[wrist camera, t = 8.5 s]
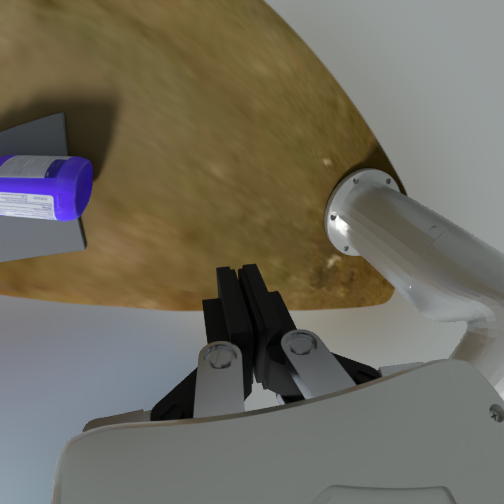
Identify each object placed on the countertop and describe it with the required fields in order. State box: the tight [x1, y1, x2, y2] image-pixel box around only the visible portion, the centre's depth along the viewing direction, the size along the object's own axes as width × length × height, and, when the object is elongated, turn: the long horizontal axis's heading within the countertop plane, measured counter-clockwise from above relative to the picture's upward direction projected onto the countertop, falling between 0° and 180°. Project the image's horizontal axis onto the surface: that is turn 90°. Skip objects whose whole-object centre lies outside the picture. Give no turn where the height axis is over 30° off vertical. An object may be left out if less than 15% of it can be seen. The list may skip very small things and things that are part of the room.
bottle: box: [0, 155, 93, 221], centre depth 21 cm, size 7×6×17 cm
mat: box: [0, 112, 86, 262], centre depth 24 cm, size 20×16×1 cm
